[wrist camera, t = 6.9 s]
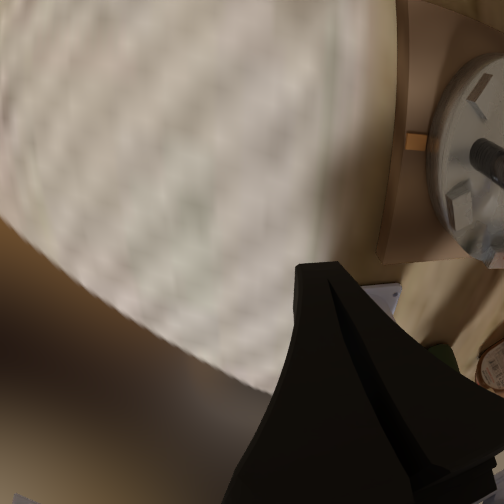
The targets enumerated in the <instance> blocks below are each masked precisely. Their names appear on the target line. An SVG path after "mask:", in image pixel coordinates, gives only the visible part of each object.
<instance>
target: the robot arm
mask: <svg viewBox="0 0 504 504" xmlns="http://www.w3.org/2000/svg"><path fill="white" fill-rule="evenodd" d="M401 290H402V286H401V285H400V283H390V284H380V285H370V286H360V285H359V284H358V283H357V282H356V281H355V280H354V279H353V278H352V276H351V275H350V274H349V273H348V272H347V271H346V270H345V269H344V268H343V266H342V265H341V264H340V263H339V262H338V261H334V262H319V263H304V264H298V265H297V266H296V267H295V283H294V300H293V313H294V328H293V333H292V337H291V342H290V345H289V349H288V353H287V356H286V359H285V363H284V366H283V369H282V372H281V375H280V377H279V380H278V383H277V386H276V388H275V391H274V393H273V396H272V398H271V401H270V403H269V405H268V408H267V410H266V412H265V414H264V416H263V419H262V420H261V423H260V425H259V427H258V429H257V431H256V433H255V435H254V437H253V439H252V441H251V442H250V444H249V446H248V448H247V449H246V451H245V453H244V455H243V456H242V458H241V460H240V462H239V463H238V465H237V467H236V469H235V471H234V473H233V476H232V478H231V481H230V483H229V486H228V488H227V491H226V493H225V496H224V498H223V501H222V503H221V504H479V503H480V502H482V501H483V504H504V469H503V470H502V471H500V472H499V473H497V474H495V475H493V472H492V469H493V468H495V467H496V465H497V463H496V460H495V457H494V456H496V455H497V454H499V453H500V452H502V451H503V450H504V398H503V397H501V396H499V395H497V394H495V393H493V392H491V391H489V390H487V389H485V388H483V387H482V386H480V385H478V384H477V383H475V382H473V381H471V380H470V379H468V378H466V377H465V376H463V375H462V374H460V373H459V372H457V371H455V370H454V369H453V368H451V367H450V366H448V365H447V364H445V363H444V362H443V361H441V360H440V359H438V358H437V357H436V356H434V355H433V354H432V353H430V352H429V351H428V350H427V349H425V348H424V347H423V346H422V345H421V344H419V343H418V342H417V341H416V340H414V339H413V338H412V337H411V336H410V335H409V334H407V333H406V332H405V331H404V330H403V329H402V328H401V327H400V326H399V325H398V324H397V323H396V321H395V319H394V317H393V314H394V311H395V308H396V305H397V302H398V299H399V296H400V293H401ZM13 504H40V503H37V502H35V501H33V500H31V499H28V498H26V497H24V496H21V495H19V494H17V493H16V494H14V497H13Z"/></svg>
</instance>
